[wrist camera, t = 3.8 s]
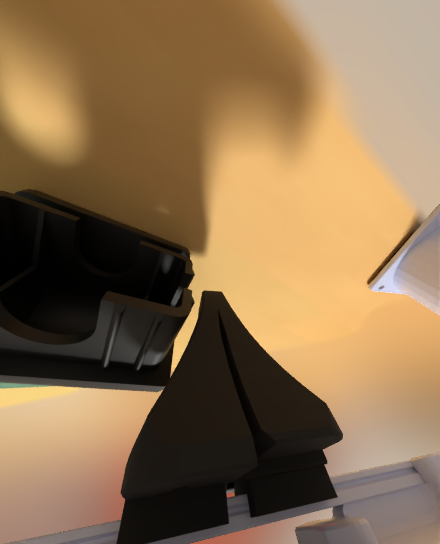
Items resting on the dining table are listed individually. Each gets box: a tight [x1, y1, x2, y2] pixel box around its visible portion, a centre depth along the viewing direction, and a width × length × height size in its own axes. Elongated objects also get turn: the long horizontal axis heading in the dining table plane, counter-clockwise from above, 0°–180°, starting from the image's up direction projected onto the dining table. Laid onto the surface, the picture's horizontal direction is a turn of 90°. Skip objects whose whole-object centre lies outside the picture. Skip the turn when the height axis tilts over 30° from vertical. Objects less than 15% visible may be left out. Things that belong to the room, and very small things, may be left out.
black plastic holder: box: [0, 189, 195, 392], centre depth 9 cm, size 10×7×7 cm
